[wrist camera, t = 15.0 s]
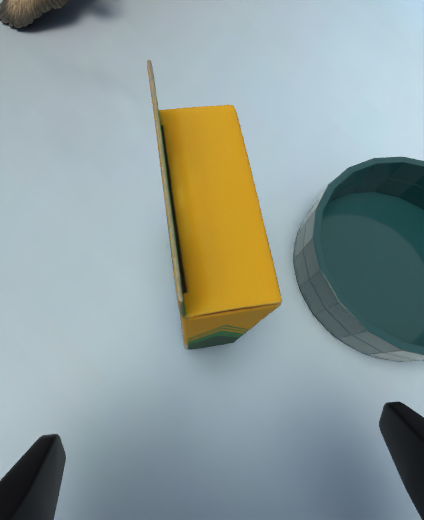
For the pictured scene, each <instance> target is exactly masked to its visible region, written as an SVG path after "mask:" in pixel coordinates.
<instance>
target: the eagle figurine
mask: <svg viewBox="0 0 424 520" xmlns="http://www.w3.org/2000/svg"><path fill="white" fill-rule="evenodd" d="M67 1H69V0H3V2H2V3H0V20H1V22H2V23H9V26H10V27H12V26H14V27H15V28H21V27H23V26H27V25H28V24H32V23H33V21H34V19H37V18H39V17H41V15H42V13H46V12H47V11H50V10H51V9H52V8H54V9H57V8H62V6H64V5H65V4H66V2H67Z"/></svg>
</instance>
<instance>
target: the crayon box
mask: <svg viewBox="0 0 424 520" xmlns="http://www.w3.org/2000/svg"><path fill="white" fill-rule="evenodd" d="M147 69H148V75H149V82H150V90H151V97H152V103H153V111H154V119H155V126H156V134H157V142H158V150H159V159H160V167H161V175H162V182H163V190H164V198H165V206H166V214H167V222H168V230H169V238H170V246H171V254H172V262H173V270H174V278H175V286H176V293H177V300H178V306H179V312H180V319H181V325H182V333H183V341H184V347H185V348H186V349H197V348H203V347H210V346H216V345H222V344H228V343H233V342H235V341H236V340H237V339H238V338H240V337H241V336H242V335H243V334H244V333H246V332H247V331H248V330H249V329H251V328H252V327H253V326H254V325H256V324H257V323H258V322H259V321H260V320H262V319H263V318H264V317H266V316H267V315H268V314H269V313H271V312H272V311H274V310H275V309H276V308H277V307H278V306H280V304H281V301H282V300H281V295H280V290H279V286H278V281H277V277H276V273H275V269H274V264H273V260H272V256H271V251H270V248H269V244H268V239H267V235H266V231H265V226H264V222H263V219H262V214H261V210H260V206H259V200H258V197H257V193H256V189H255V184H254V181H253V177H252V172H251V168H250V164H249V160H248V156H247V152H246V148H245V144H244V140H243V136H242V133H241V128H240V124H239V121H238V117H237V113H236V110H235V108H234V106H233V105H224V106H205V107H191V108H178V109H168V110H158V103H157V96H156V89H155V82H154V74H153V69H152V64H151V61H150V59H148V60H147Z"/></svg>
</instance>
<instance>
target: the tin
mask: <svg viewBox="0 0 424 520" xmlns="http://www.w3.org/2000/svg"><path fill="white" fill-rule="evenodd" d="M294 267H295V273H296V278H297V281H298V285H299V288H300V290H301V293H302V295H303V297H304V299H305V301H306V303H307V304H308V306H309V308H310V310H311V311H312V312H313V314H314V315H315V316H316V318H317V319H318V320H319V321H320V322H321V324H322V325H323V326H324V327H325V328H326V329H327V330H328V331H329V332H331V333H332V334H333V335H334V336H335V337H337V338H338V339H339V340H341V341H342V342H344V343H345V344H347V345H348V346H350V347H352V348H354V349H356V350H358V351H360V352H362V353H365V354H368V355H370V356H373V357H377V358H382V359H386V360H394V361H400V362H402V361H418V360H424V161H421V160H416V159H411V158H407V157H387V158H373V159H370V160H368V161H365V162H362V163H360V164H357V165H354V166H352V167H349V168H347V169H346V170H345V171H344V172H343V173H342V174H340V175H339V176H338V177H337V178H336V179H335V180H333V181H332V182H331V183H330V184H329V185H328V186H327V188H326V189H325V190H324V192H323V193H322V195H321V196H320V197H319V199H318V200H317V202H316V203H315V204H314V206H313V207H312V209H311V210H310V211H309V213H308V215H307V217H306V218H305V220H304V222H303V224H302V225H301V228H300V230H299V232H298V235H297V239H296V242H295V250H294Z"/></svg>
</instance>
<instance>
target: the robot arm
mask: <svg viewBox="0 0 424 520" xmlns="http://www.w3.org/2000/svg"><path fill="white" fill-rule="evenodd" d="M379 427H380V431H381V433H382V436H383V438H384V440H385V442H386V445H387V447H388V449H389V452H390V454H391V456H392V459H393V461H394V463H395V466H396V468H397V470H398V472H399V475H400V477H401V479H402V481H403V484H404V486H405V488H406V490H407V492H408V494H409V496H410V498H411V500H412V502H413V503H414V505H415V507H416V509H417V511H418V513H419V515H420V516H421V518H422V520H424V417H422V416H421V415H419V414H418V413H416V412H415V411H413V410H412V409H411V408H409V407H408V406H406V405H405V404H403V403H401V402H389V403H386V404H385V405H384V407H383V411H382V414H381V417H380V421H379ZM65 460H66V455H65V451H64V448H63V445H62V442H61V439H60V436H59V435H58V434H50V435H43V436H41V437H40V438H39V439H38V440H37V441H36V442H35V443H34V444H33V445H32V446H31V447H30V449H29V450H28V451H27V452H26V453H25V454H24V455H23V456H22V457H21V458H20V460H19V461H18V462H17V463H16V464H15V465H14V466H13V467H12V468H11V470H10V471H9V472H8V473H7V474H6V475H5V476H4V477H3V478H2V479H1V481H0V520H54V515H55V510H56V506H57V501H58V496H59V491H60V486H61V481H62V476H63V471H64V466H65Z"/></svg>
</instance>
